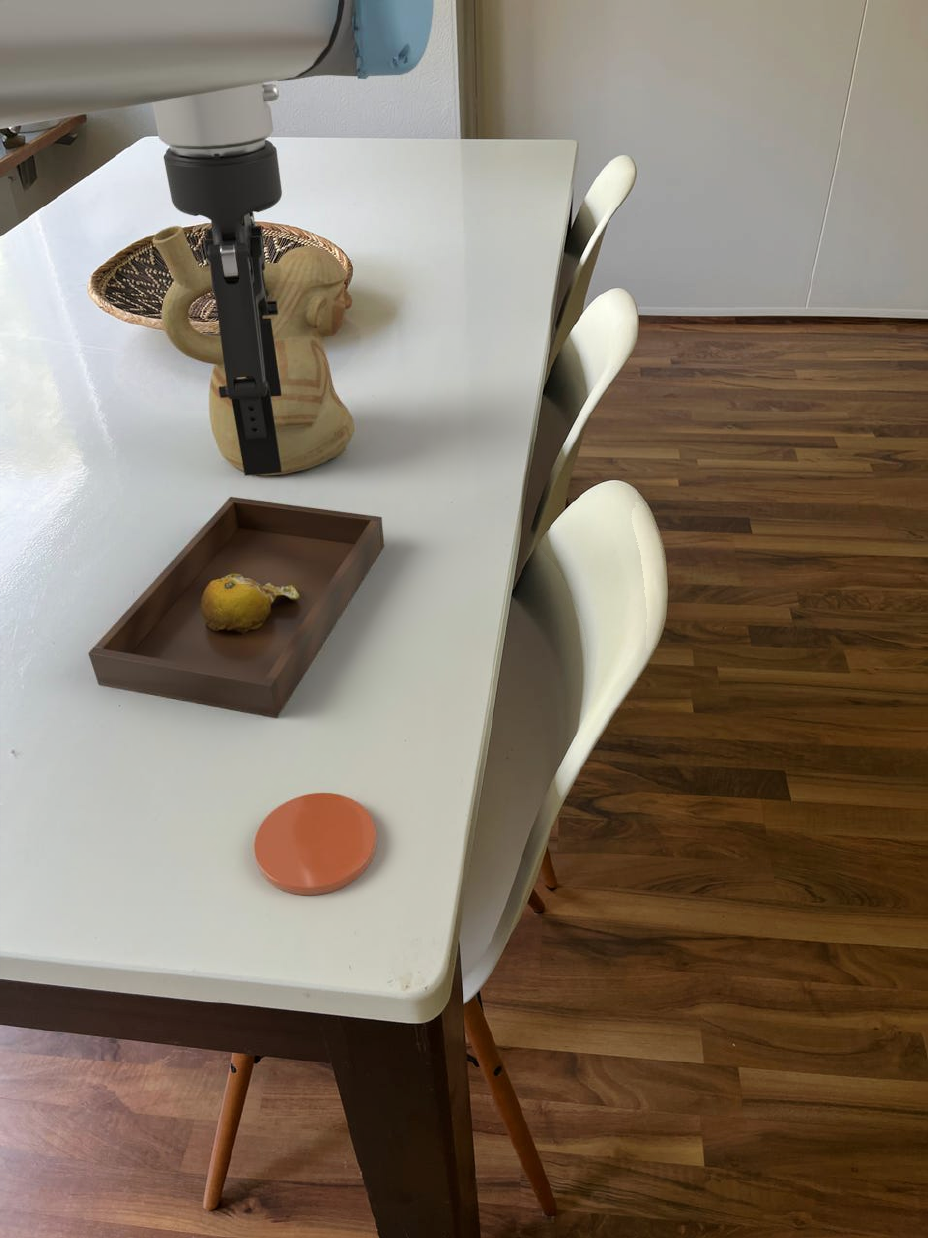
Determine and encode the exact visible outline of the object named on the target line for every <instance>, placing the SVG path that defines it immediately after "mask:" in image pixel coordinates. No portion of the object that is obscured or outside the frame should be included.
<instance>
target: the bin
mask: <svg viewBox="0 0 928 1238" xmlns="http://www.w3.org/2000/svg"><path fill="white" fill-rule="evenodd" d="M382 518H383V517H382V516H379V515H378V516H377V515H369V514H362V513H356V512H355V513H354V512H348V511H347V512H346V511H340V510H333V509H324V508H317V507H309V506H302V505H294V504H287V503H279V502H272V501H266V500H265V501H264V500H257V499H250V498H243V497H234V496H230V497H229V498H228V499H227V500H226V501H225V502H224V503H223V505H222V506H221V507H219V509H218V510H217V511H216V512H215V513H214V515H212V516H211V518H210V519H209V520H208V521H207V522H206V523H205V524H204V525H203V526H202V527H201V529H200V530H198V531H197V533H196V534H195V535H194V536H193V537H192V538H191V540H189V542H188V543H187V544H186V545H185V546H184V547H183V548H182V549H181V550H180V552H178V553H177V555H176V556H175V557H174V558H173V559H172V561H171V562H170V563H169V564H167V566H166V567H165V568H164V569H163V570H162V572H160V573H159V575H158V576H157V577H156V578H155V579H154V580H153V582H152V583H150V585H149V586H147V588H146V589H145V590H144V591H143V592H142V593H141V595H140V596H139V597H138V598H137V599H136V600H135V601H134V602H133V603H132V604H131V606H130V607H128V608H127V610H126V611H125V612H124V614H122V616H120V618H119V619H118V620H117V621H116V622H115V623H114V624H113V625H112V627H110V628H109V630H108V631H107V632H105V634H104V635H103V636H102V637H101V638H100V640H99V641H98V642H96V644H95V645H94V646H93V647H92V648H91V649H90V651H88V653H87V654H88V657H89V661H90V663H91V666H92V669H93V672H94V676H95V678H96V681H97V684H98V685H100V686H103V687H109V688H114V689H120V690H125V691H130V692H136V693H142V694H147V695H152V696H157V697H163V698H167V699H172V700H178V701H183V702H188V703H189V702H190V703H195V704H199V705H206V706H211V707H216V708H221V709H226V710H232V711H236V712H237V711H238V712H241V713H242V712H243V713H246V714H247V713H248V714H253V715H258V716H264V717H270V718H275V719H278V717H279V716H280V715H281V712H282V711H283V709H284V708H285V706H286V704H287V703H288V701H289V700H290V698H291V697H292V695H293V693H294V692H295V690H296V688H297V687H298V685H299V684H300V682H301V680H302V679H303V677H304V676H305V674H306V672H307V671H308V669H310V666H311V665H312V663H313V661H315V658H316V657H317V656H318V654H319V652H320V650H321V649H322V647H323V645H324V644H325V642H326V641H327V639H328V637H329V636H330V634H331V632H332V631H333V629H334V627H335V626H336V624H337V623H338V621H339V620H340V618H341V616H342V615H343V613H344V612H345V610H346V608H347V607H348V605H349V604H350V602H351V601H352V599H353V597H354V595H355V594H356V592H357V590H358V589H359V587H360V586H361V584H362V583H363V581H364V580H365V578H366V577H367V574H368V573H369V572H370V570H371V568H372V567H373V565H374V563H375V562H376V561H377V559H378V557H379V555H380V554H381V552H382V551H383V549H384V547H385V541H384V529H383V528H384V527H383V519H382ZM234 573H236V574H240V575H242V576H243V577H244V578H249V579H252V580H254V581H255V582H257V583H259V584H260V585H261V586H265V585H266V584H268V583H270V584H271V585H273V586H274V587H280V588H282V586H283V587H286V586H290V585H292V586H293V587H294V588H295V589H296V590H297V592H298V594H299V599H298V600H296V601H293V600H292V599H290V598H289V597H288V596H286V595H278V596H276V598H275V599H274V601H273V602H272V603H271V607H270V609H271V612H270V615H269V616H268V617H267V618H266V619H265V621H264V622H263V623H262V626H260V627H258V628H256V629H249V630H248V631H246V632H245V633H241V632H239V631H236V630H230V631H229V630H227V629H221V630H220V629H219V630H218V631H215V630H210V629H207V628H206V626H205V622H204V618H203V616H202V615H201V597H202V596H203V593H204V591H205V589H206V587H207V586H208V584H209V583H210V582H211V581H213V580H217V579H221V578H223V577H225V576H227V575H230V574H234ZM292 601H293V602H292Z"/></svg>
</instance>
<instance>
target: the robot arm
mask: <svg viewBox="0 0 928 1238" xmlns="http://www.w3.org/2000/svg"><path fill="white" fill-rule="evenodd" d="M434 3H435V0H0V130H2V129H8V128H9V129H10V128H14V127H19V126H25V125H31V124H36V123H42V122H48V121H54V120H60V119H65V118H70V117H76V116H82V115H83V116H84V115H88V114H94V113H100V112H104V111H110V110H118V109H122V108H127V107H134V106H139V105H140V106H141V105H144V104H150V103H152V108H153V114H154V121H155V124H156V129H157V135H158V139H159V140H160V141H161V142H162V143H164V144H165V145H166V146H169V148H167V149H166V151H165V154H164V155H163V161H164V167H165V172H166V177H167V183H168V187H169V193H170V198H171V202H172V204H173V206H174V208H176V210H178V211H179V212H181V213H183V214H185V215H189V216H193V217H198V216H202V217H205V218H207V219H208V220H210V222H211V228H205V236H206V239H204V240H203V245H204V247H203V248H204V257H205V258H206V261H207V264H208V266H210V270H211V280H212V290H213V292H212V293H213V296H214V299H215V304H216V312H217V320H218V327H219V336H221V344H222V352H223V360H224V368H225V375H226V383H227V386H220V387H219V393H220V397H221V398H226V397H229V399H231V400H232V406H233V412H234V417H235V423H236V429H237V434H238V440H239V446H240V451H241V457H242V463H243V468H244V472H243V473H244V476H255V475H256V476H259V475H258V474H269V473H281V462H280V455H279V448H278V442H277V435H276V428H275V422H274V415H273V408H272V402H271V397H273V396H281V386H280V379H279V372H278V365H277V358H276V351H275V344H274V337H273V330H272V323H271V318H267V319H263V316H268V315H278V308H277V301H267V300H268V296H269V291H268V289H267V288H266V282H265V277H264V271H263V270H264V269H265V263H266V262H265V255H264V254H265V253H264V250H265V241H264V232H263V227H262V225H256V221H255V215H254V214H255V213H260V212H264V211H266V210H269V209H270V208H272V207H274V206H276V205H277V204H278V203H279V202H280V200H281V198H282V195H283V189H282V182H281V181H282V180H281V173H280V166H279V157H278V150H277V147H276V146H274V144H273V143H272V142H271V141H270V140H267V139H268V138H270V136H271V135H272V133H273V132H274V125H273V118H272V117H273V116H272V109H271V106H270V104H269V102H274V101H277V100H278V99H279V98H280V92H279V89H278V87H277V85H276V84H274V83H271V82H283V81H284V82H285V81H295V80H301V79H305V78H306V79H307V78H312V77H321V76H335V77H337V76H339V77H357V79H359V80H361V79H362V80H367V79H368V78H369V77H380V76H381V77H384V76H402V75H405V74H409V73H410V72H411V71H413V70H414V69H415V68H417V66H418V65H419V63H420V62H421V60H422V58H423V57H424V55H425V53H426V50H427V48H428V44H429V41H430V36H431V31H432V26H433V18H434V5H435V4H434ZM265 83H269V84H265ZM239 377H246V378H242V379H237V378H239Z"/></svg>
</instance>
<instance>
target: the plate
mask: <svg viewBox="0 0 928 1238" xmlns="http://www.w3.org/2000/svg"><path fill="white" fill-rule="evenodd" d="M377 836H378V835H377V829H376V824H375V822H374V819H373V818H372V815H371V814H370V812H369V811H368V810H367V809H366V807H365V806H363V805H362V804H361V803H360V802H358V801H357V800H355V799H353V798H351V797H349V796H345V795H343V794H338V793H332V792H314V793H308V794H307V793H306V794H303V795H300V796H296V797H294V798H292V799H289V800H287V801H286V802H283V803H282V804H280V805H279V806H277V807H276V808H275V809H273V810H271V812H270V813H269V814H268V815H267V816H266V817H265V818H264V820H263V821H262V822H261V823H260V825H259V827H258V830H257V832H256V835H255V837H254V844H253V851H254V857H255V860H256V861H255V862H256V865H257V867H258V870H259V872H260V874H261V875H262V877H264V879H265V880H266V881H267V882H268V883H269V884H270V885H272V886H273V887H275V888H277V889H278V890H281V891H283V892H286V893H288V894H294V895H299V896H319V895H325V894H328V893H333V892H335V891H338V890H340V889H342V888H344V887H347V886H348V885H349V884H351V883H352V882H354V881H356V880H357V879H358V878H360V876H361V875H362V874H363V873H364V872H365V871H366V870H367V868H368V867H369V866H370V864H371V862H372V860H373V859H374V857H375V854H376V850H377V844H378V837H377Z"/></svg>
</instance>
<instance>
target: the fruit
mask: <svg viewBox="0 0 928 1238" xmlns="http://www.w3.org/2000/svg"><path fill="white" fill-rule="evenodd" d="M278 595H286V596H288V597H289V598H290V599H292V600H293V601H296V600H298V599H299V594H298V592H297V590H296V589H295V588H294V587H293V586H292V585H290V586H286V587H283V586H282V588H280V587H274V586H273V585H271V584H270V583H268V584H266V585H265V586H261V585H260V584H259V583H257V582H255V581H254V580H252V579H249V578H244V577H243V576H242V575H240V574H236V573H234V574H230V575H227V576H225V577H223V578H221V579H217V580H213V581H211V582H210V583H209V584H208V586H207V587H206V589H205V591H204V593H203V596H202V597H201V615H202V616H203V618H204V622H205V626H206V628H207V629H210V630H215V631H218V630H219V629H220V630H221V629H227V630H229V631H230V630H236V631H239V632H241V633H245V632H246V631H248V630H249V629H256V628H258V627H260V626H262V623H263V622H264V621H265V619H266V618H267V617H268V616H269V615H270V612H271V609H270V607H271V603H272V602H273V601H274V599H275V598H276V596H278ZM293 601H292V602H293Z"/></svg>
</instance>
